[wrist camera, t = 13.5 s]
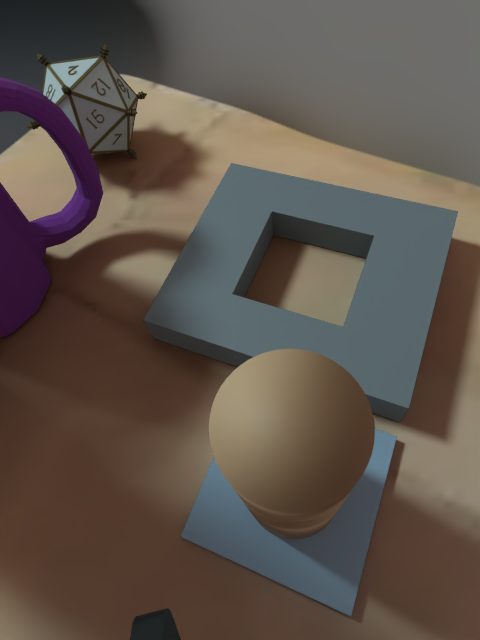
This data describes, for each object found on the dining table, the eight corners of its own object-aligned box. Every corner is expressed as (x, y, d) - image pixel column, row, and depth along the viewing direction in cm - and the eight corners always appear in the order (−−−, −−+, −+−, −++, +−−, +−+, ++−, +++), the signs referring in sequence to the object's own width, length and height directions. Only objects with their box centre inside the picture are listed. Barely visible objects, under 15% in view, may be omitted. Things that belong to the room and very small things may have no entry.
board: (153, 338, 30) (142, 320, 28) (235, 187, 36) (231, 163, 34) (399, 422, 26) (408, 408, 24) (446, 236, 32) (458, 211, 30)
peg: (231, 515, 24) (181, 471, 14) (265, 427, 26) (245, 330, 16) (323, 556, 23) (347, 542, 12) (351, 459, 25) (392, 377, 14)
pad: (182, 537, 24) (180, 536, 24) (246, 386, 28) (245, 383, 27) (349, 615, 22) (351, 616, 21) (395, 438, 25) (396, 436, 25)
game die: (101, 182, 43) (8, 93, 38) (166, 118, 42) (79, 16, 37) (101, 206, 36) (-15, 98, 31) (180, 128, 35) (73, 2, 29)
